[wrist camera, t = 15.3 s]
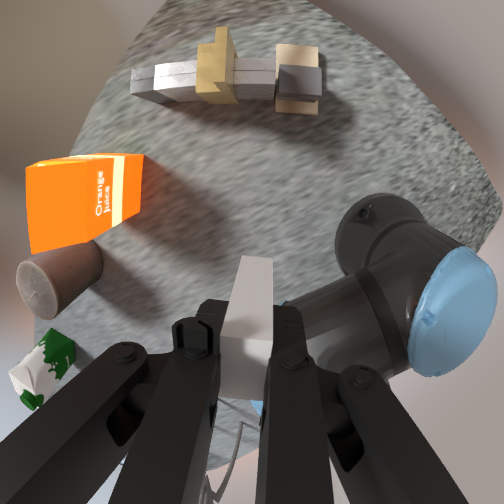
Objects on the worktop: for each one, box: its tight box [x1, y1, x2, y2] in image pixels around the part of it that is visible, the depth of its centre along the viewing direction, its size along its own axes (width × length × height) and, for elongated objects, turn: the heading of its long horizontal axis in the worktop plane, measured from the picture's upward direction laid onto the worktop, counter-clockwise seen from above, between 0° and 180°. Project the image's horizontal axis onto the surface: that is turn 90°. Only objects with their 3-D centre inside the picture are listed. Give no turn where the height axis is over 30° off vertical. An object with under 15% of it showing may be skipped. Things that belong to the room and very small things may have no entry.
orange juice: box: [26, 153, 143, 254], centre depth 29 cm, size 8×9×20 cm
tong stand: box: [275, 44, 322, 115], centre depth 29 cm, size 6×10×6 cm, turn 179°
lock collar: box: [195, 27, 239, 104], centre depth 24 cm, size 4×6×12 cm, turn 179°
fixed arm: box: [130, 71, 276, 104], centre depth 29 cm, size 16×2×9 cm, turn 89°
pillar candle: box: [16, 239, 103, 320], centre depth 36 cm, size 10×10×15 cm
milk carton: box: [9, 328, 75, 411], centre depth 42 cm, size 9×9×20 cm
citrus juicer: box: [198, 399, 243, 504], centre depth 41 cm, size 11×10×30 cm
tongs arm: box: [131, 58, 276, 82], centre depth 28 cm, size 16×2×9 cm, turn 89°
